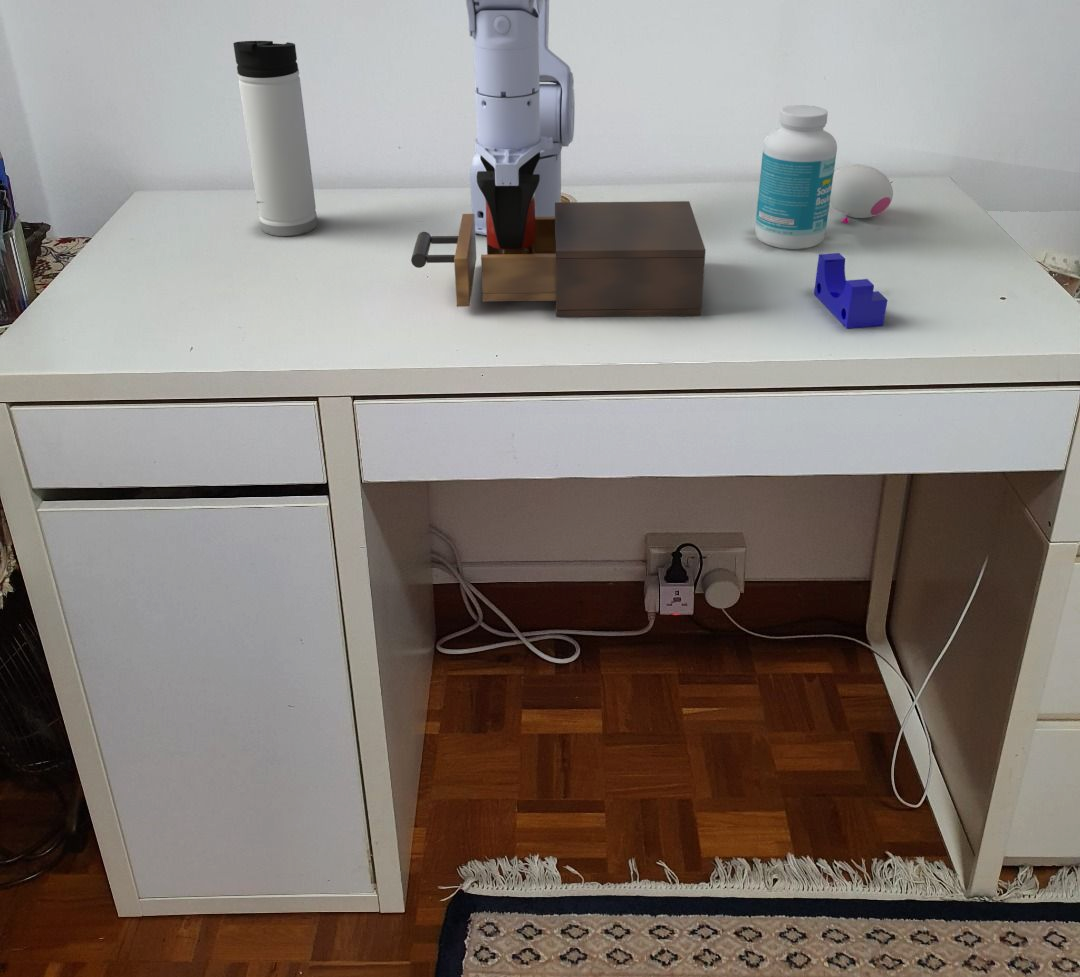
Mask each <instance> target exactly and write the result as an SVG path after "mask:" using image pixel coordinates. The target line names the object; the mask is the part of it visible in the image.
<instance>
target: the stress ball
mask: <svg viewBox="0 0 1080 977" xmlns="http://www.w3.org/2000/svg"><path fill="white" fill-rule="evenodd" d="M893 182H894V180H892V181H890V179H889V178H888V177H887V175H885V174H884V173H883V172H882V171H880V170H879V169H877V168H875V167H873V166H869V165H866V164H858V163H856V164H848V165H844V166H841V167H839V168H837V169H834V175H833V182H832V189H831V197H830V204H829V206H831V207H832V208H833V209H834V210H835V211H837V213H840V214H842V215H844V216H846V217H845V218H844V219H843V220H841V221H840V223H843V224H848V225H850V222H849V219H848V217H850V218H855V219H866V218H873V217H875V216H877V215H880V214H881V213H883V212H884V211H886V210H887V209H888V207H889V206H890V205H891V203H892V201H893V197H894V189H893V185H892V183H893Z"/></svg>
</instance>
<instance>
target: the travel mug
mask: <svg viewBox="0 0 1080 977" xmlns="http://www.w3.org/2000/svg"><path fill="white" fill-rule="evenodd" d="M233 51H234V56H235V63H236V65H237V66H236V71H237V72H236V74H237V79H238V88H239V94H240V101H241V108H242V113H243V120H244V128H245V133H246V140H247V147H248V154H249V160H250V167H251V174H252V179H253V180H252V181H253V186H254V187H253V188H254V192H255V193H254V194H255V200H256V206H257V213H258V219H259V226H260V230H261V231H262V232H263V233H265V234H267V235H270V236H276V237H293V236H300V235H303V234H307V233H309V232H311V231H313V230H314V229H315V228H316V227H317V226H318V223H319V222H318V216H317V210H316V209H317V208H316V199H315V190H314V182H313V175H312V166H311V158H310V150H309V149H310V148H309V141H308V133H307V125H306V117H305V109H304V100H303V93H302V86H301V85H302V84H301V77H300V69H299V65H298V62H297V60H298V57H297V56H298V55H297V49H296V43H293V42H285V43H274V41H273V40H245V41H243V40H241V41H234V42H233Z"/></svg>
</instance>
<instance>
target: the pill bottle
mask: <svg viewBox="0 0 1080 977" xmlns="http://www.w3.org/2000/svg"><path fill="white" fill-rule="evenodd" d="M828 113H829V112H828V110H827V109H825V108H823V107H821V106H820V107H819V106H815V105H806V104H796V105H795V104H794V105H788V106H783V107H782V108H781V109H780V113H779V118H778V120H779V125H780V127H779V128H777V129H774V130H773V131H770V132H769V133H768V135H767V136H766V137H765V139H764V141H763V145H762V156H761V166H760V176H759V186H758V194H757V206H756V215H755V226H754V233H755V236H756V238H757V239H758V240H759V241H760V242H762V243H764V244H765V245H768V246H770V247H774V248H779V249H787V250H788V249H789V250H798V249H799V250H801V249H809V248H813V247H815V246H817V245H819V244H821V243H822V242H823V241H824V239H825V237H826V231H827V226H828V219H829V218H828V217H829V210H830V197H831V189H832V182H833V175H834V171H835V166H836V158H837V152H838V144H837V140H836V138H835V137H834V136H833V134H831V133H830V132H828V131H826V130H824V128H825V127H826V125H827V123H828V115H829V114H828Z"/></svg>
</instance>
